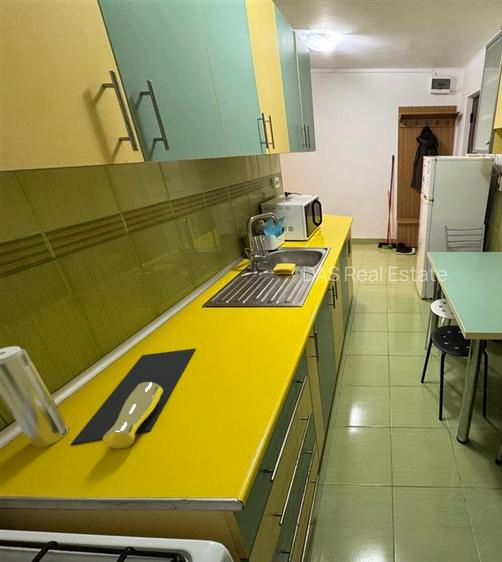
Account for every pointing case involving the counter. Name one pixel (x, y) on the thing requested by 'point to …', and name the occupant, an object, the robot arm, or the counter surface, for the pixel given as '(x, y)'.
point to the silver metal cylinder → (29, 398)
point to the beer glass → (133, 415)
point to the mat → (147, 369)
